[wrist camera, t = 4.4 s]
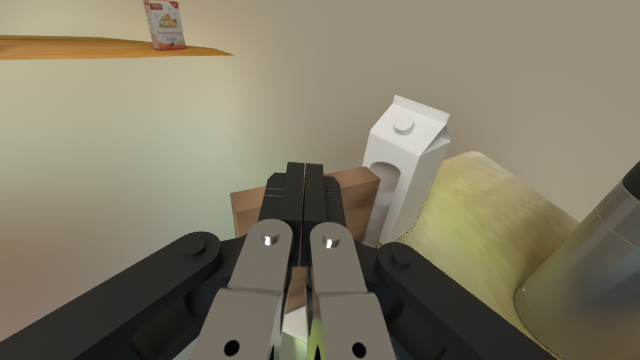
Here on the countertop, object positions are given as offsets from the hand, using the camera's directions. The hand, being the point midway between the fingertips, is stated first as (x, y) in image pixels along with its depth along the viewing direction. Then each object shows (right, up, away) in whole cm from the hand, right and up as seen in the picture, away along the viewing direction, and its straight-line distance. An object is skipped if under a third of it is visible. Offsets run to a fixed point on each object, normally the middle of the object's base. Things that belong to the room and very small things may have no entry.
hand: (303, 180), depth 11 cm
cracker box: (-77, +68, +121) cm, 159 cm away
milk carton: (+10, -7, +29) cm, 31 cm away
